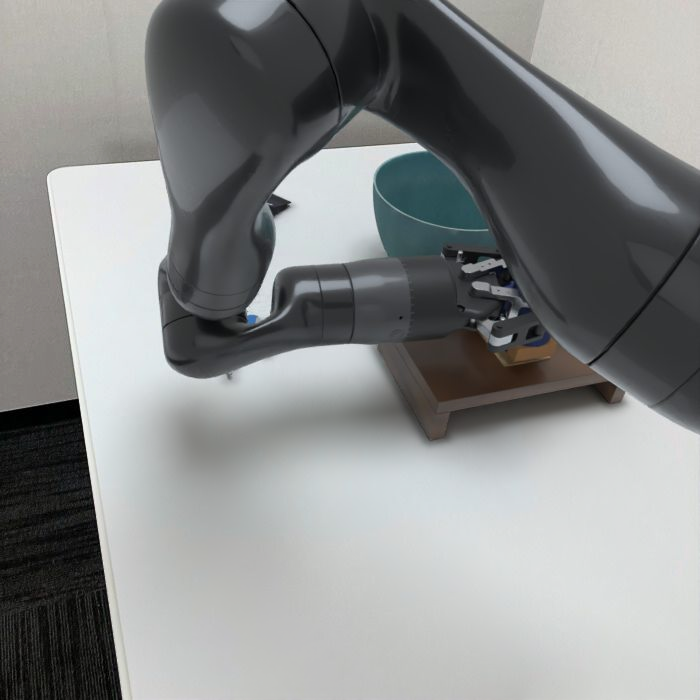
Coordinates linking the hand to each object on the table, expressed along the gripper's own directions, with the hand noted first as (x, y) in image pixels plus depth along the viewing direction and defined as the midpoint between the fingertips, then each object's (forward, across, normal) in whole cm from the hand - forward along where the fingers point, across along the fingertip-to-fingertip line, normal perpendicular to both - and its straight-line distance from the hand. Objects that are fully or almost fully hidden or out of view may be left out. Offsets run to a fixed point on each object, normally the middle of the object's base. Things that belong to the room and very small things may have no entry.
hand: (564, 287), depth 72 cm
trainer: (-3, +2, +6) cm, 7 cm away
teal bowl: (-3, +20, +13) cm, 24 cm away
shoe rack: (-3, +2, +13) cm, 13 cm away
